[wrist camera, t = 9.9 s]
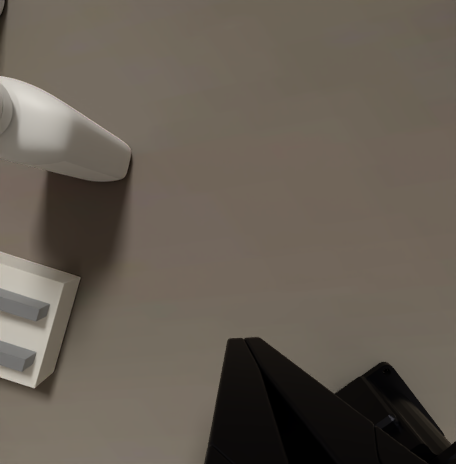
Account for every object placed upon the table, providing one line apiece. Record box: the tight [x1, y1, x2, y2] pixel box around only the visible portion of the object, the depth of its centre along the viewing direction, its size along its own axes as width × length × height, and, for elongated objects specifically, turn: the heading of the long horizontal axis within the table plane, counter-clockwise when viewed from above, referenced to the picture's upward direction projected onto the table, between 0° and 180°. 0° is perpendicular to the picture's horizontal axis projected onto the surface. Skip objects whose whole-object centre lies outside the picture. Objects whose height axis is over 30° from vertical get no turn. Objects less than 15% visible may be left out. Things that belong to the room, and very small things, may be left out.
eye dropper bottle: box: [0, 76, 131, 182], centre depth 14 cm, size 4×6×12 cm
